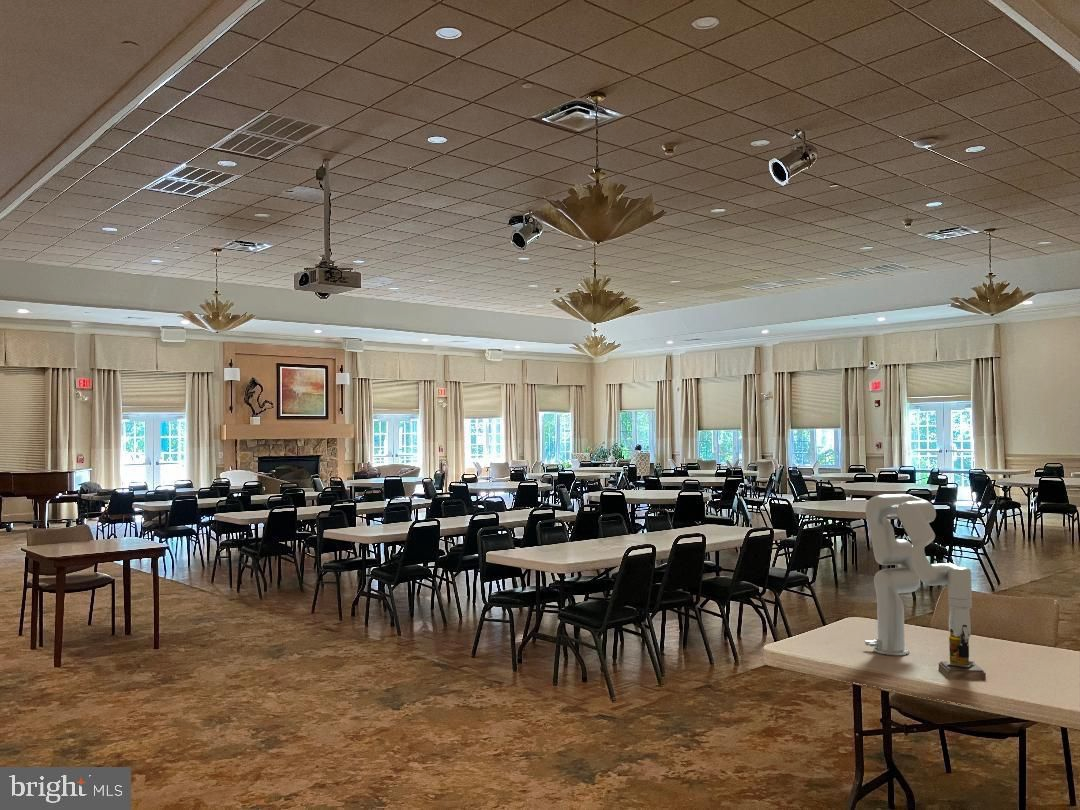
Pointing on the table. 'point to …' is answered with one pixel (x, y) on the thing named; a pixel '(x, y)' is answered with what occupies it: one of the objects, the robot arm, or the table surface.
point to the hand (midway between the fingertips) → (960, 654)
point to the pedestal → (962, 671)
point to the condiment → (957, 652)
